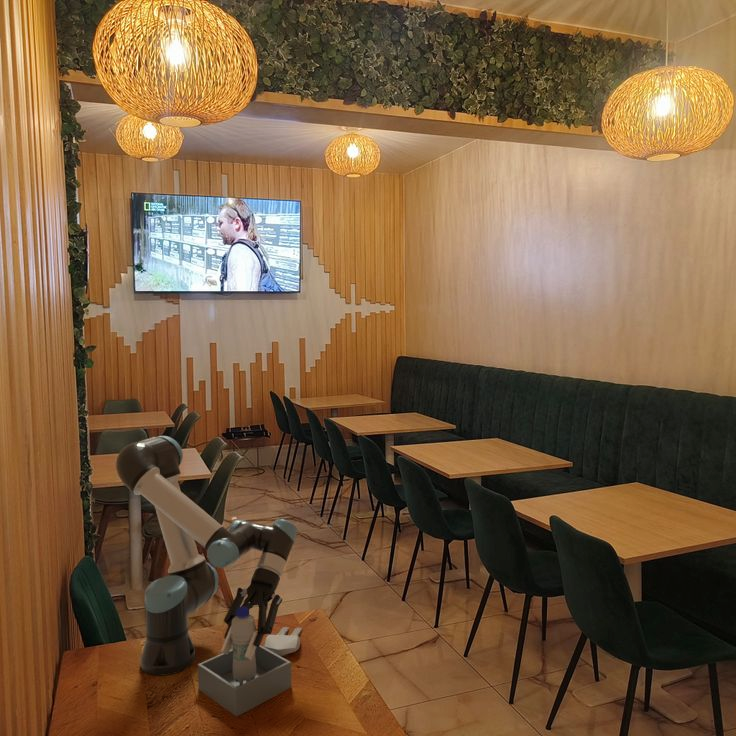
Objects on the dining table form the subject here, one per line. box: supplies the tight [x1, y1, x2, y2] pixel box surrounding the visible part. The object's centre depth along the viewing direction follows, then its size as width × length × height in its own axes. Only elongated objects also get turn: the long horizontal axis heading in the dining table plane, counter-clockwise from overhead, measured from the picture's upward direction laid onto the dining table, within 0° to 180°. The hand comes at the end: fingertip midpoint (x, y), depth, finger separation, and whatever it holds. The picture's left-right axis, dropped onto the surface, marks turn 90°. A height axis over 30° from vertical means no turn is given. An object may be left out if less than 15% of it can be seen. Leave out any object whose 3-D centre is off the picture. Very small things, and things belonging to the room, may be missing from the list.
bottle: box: [231, 605, 257, 684], centre depth 170 cm, size 7×7×20 cm
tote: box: [197, 644, 292, 717], centre depth 171 cm, size 18×18×7 cm
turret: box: [263, 626, 303, 657], centre depth 194 cm, size 10×20×5 cm, turn 174°
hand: (236, 655), depth 167 cm, fingers closed on bottle, 7 cm apart
